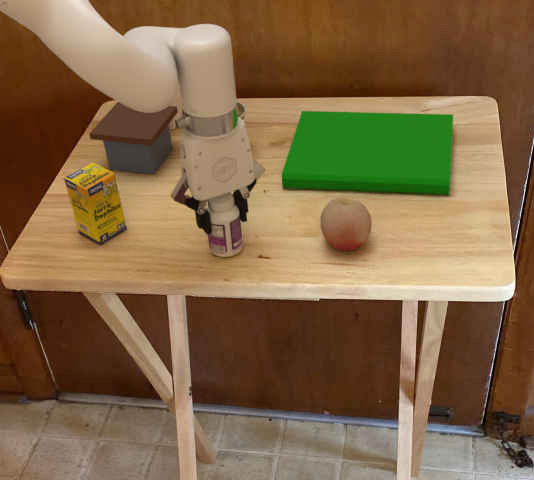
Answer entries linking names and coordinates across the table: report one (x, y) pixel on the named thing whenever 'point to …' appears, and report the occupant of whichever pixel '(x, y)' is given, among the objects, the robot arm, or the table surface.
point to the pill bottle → (224, 226)
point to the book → (371, 152)
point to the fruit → (345, 224)
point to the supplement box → (96, 203)
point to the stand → (135, 138)
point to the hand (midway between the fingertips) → (223, 222)
